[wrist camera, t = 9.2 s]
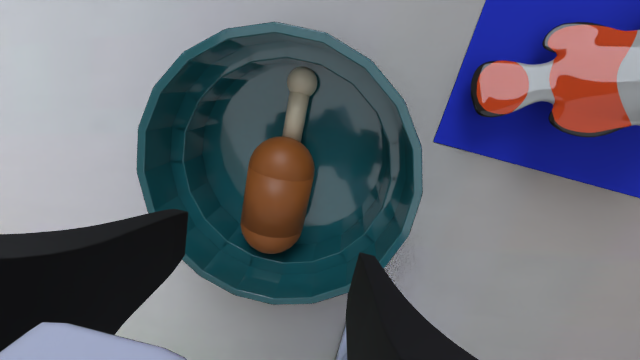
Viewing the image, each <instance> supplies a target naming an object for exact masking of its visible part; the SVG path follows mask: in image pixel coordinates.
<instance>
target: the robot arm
mask: <svg viewBox="0 0 640 360" xmlns="http://www.w3.org/2000/svg"><path fill="white" fill-rule="evenodd" d="M187 223H188V212H187V211H182V210H178V209H167V210H162V211H158V212H153V213H149V214H145V215H141V216H137V217H133V218H128V219H124V220H119V221H115V222H110V223H105V224H100V225H95V226H90V227H83V228H76V229H69V230H61V231H50V232H38V233H26V234H0V360H186V358H184V357H182V356H180V355H178V354H176V353H174V352H172V351H170V350H168V349H166V348H163V347H159V346H155V345H151V344H147V343H143V342H139V341H135V340H131V339H127V338H123V337H120V336H116V335H115V333H116V332H117V331H118V330H119V328H120V327H121V326H122V325H123V324H124V322H125V321H126V320H127V319H128V318H129V317H130V316H131V315H132V314H133V313H134V312H135V311H136V310H137V309H138V308H139V307H140V306H141V305H142V304H143V303H144V302H145V301H146V299H147V298H148V297H149V296H150V295H151V294H152V293H153V292H154V291H155V290H156V289H157V288H158V287H159V286H160V285H161V284H162V283H163V282H164V281H165V280H166V279H167V278H168V277H169V276H170V275H171V273H172V272H173V271H174V270H175V268H176V267H177V266H178V264H179V263H180V261H181V260H182V258H183V257H184V256H185V248H186V236H187ZM336 360H478V359H477V358H475V357H474V356H472V355H471V354H469V353H468V352H466V351H465V350H464V349H462V348H461V347H459V346H458V345H457V344H455V343H454V342H453V341H451V340H450V339H449V338H447V337H446V336H445V335H444V334H442V333H441V332H440V331H439V330H438V329H436V328H435V327H434V326H433V325H432V324H431V323H429V322H428V321H427V320H426V319H425V318H424V317H423V316H422V315H421V314H420V313H419V312H418V311H417V310H416V309H415V308H414V307H413V306H412V305H411V304H410V303H409V302H408V300H407V299H406V298H405V297H404V296H403V294H402V293H401V292H400V291H399V290H398V288H397V287H396V286H395V284H394V283H393V282H392V280H391V279H390V278H389V276H388V275H387V273H386V272H385V270H384V269H383V268H382V266H381V265H380V263H379V262H378V260H377V259H376V257H375V256H373V255H369V254H365V253H361V252H359V256H358V259H357V263H356V267H355V270H354V274H353V278H352V281H351V285H350V289H349V292H348V299H347V309H346V325H345V329H344V332H343V336H342V339H341V343H340V346H339V350H338V353H337V356H336Z"/></svg>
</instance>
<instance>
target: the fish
mask: <svg viewBox="0 0 640 360" xmlns="http://www.w3.org/2000/svg"><path fill="white" fill-rule="evenodd" d="M541 45H542V48H543V49H544V50H546V51H548V52H550V53H554V54H556V56H555V57H554V58H553V59H552V60H549V61H547V62H542V63H535V64H530V63H523V62H518V61H513V60H504V59H497V60H489V61H485V62H483V63H481V64H480V65H479V66H478V67H477V68H476V69H475V71H474V72H473V75H472V77H471V81H470V98H471V103H472V106H473V109H474V111H475V112H476V114H477V115H478V116H480V117H483V118H498V117H502V116H506V115H509V114H512V113H514V112H516V111H519V110H521V109H523V108H525V107H527V106H530V105H532V104H535V103H540V102H545V103H549V104H551V105H552V109H551V110H550V112H549V114H548V117H547V120H548V122H549V123H550V125H551V126H552V127H553V128H555V129H556V130H558V131H560V132H562V133H564V134H567V135H570V136H574V137H579V138H598V137H603V136H607V135H610V134H613V133H615V132H618V131H620V130H623V129H625V128H628V127H633V126H638V127H640V29H630V30H624V29H618V28H614V27H611V26H607V25H604V24H600V23H595V22H589V21H572V22H565V23H561V24H559V25H557V26H555V27H553V28H552V29H551V30H550V31H549V32H548V33H547V34H546V35H545V36H544V38H543V40H542V43H541Z"/></svg>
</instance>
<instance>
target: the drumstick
mask: <svg viewBox="0 0 640 360" xmlns="http://www.w3.org/2000/svg"><path fill="white" fill-rule="evenodd" d="M287 86H288V89H289V91H290V94H289V100H288V105H287V111H286V117H285V123H284V128H283V134H282V136H281V137H273V138H270V139H268V140H266V141H264V142H262V143H261V144H260V145H259V146H257V148H256V149H255V150H254V152H253V154H252V156H251V158H250V161H249V166H248V172H247V179H246V186H245V193H244V200H243V207H242V214H241V230H242V234H243V236H244V238H245V240H246V241H247V242H248V244H249V245H250V246H251V247H253V248H254V249H256V250H257V251H259V252H262V253H266V254H276V253H280V252H283V251H286V250H287V249H289V248H290V247H292V246H293V245H294V244H295V243H296V242H297V240H298V239H299V237H300V235H301V232H302V229H303V226H304V221H305V216H306V211H307V207H308V202H309V197H310V193H311V188H312V183H313V178H314V172H315V168H314V162H313V158H312V156H311V154H310V152H309V150H308V149H307V148H306V147H305V146H304V145H303V144H302V143H301V138H302V133H303V128H304V123H305V117H306V112H307V107H308V102H309V97H310V96H311V95H312V94H313V93H314V92H315V90H316V88H317V77H316V75H315V73H314V72H313V71H312V70H311V69H309V68H307V67H297V68H295V69H293V70H292V71H291V72H290V74H289V75H288V78H287Z"/></svg>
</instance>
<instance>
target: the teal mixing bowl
mask: <svg viewBox="0 0 640 360" xmlns="http://www.w3.org/2000/svg"><path fill="white" fill-rule="evenodd" d="M297 67H307V68H309V69H311V70H312V71H313V72H314V73H315V75H316V77H317V88H316V90H315V92H314V93H313V94H312V95H311V96H310V97H309V102H308V107H307V112H306V117H305V123H304V128H303V133H302V138H301V143H302V144H303V145H304V146H305V147H306V148H307V149H308V150H309V152H310V154H311V156H312V158H313V162H314V168H315V172H314V178H313V183H312V188H311V193H310V197H309V202H308V207H307V211H306V216H305V221H304V226H303V229H302V232H301V235H300V237H299V239H298V240H297V242H296V243H295V244H294V245H293V246H292V247H290V248H289V249H287V250H286V251H283V252H280V253H276V254H266V253H262V252H259V251H257V250H256V249H254V248H253V247H251V246H250V245H249V244H248V242H247V241H246V240H245V238H244V236H243V234H242V230H241V214H242V207H243V200H244V193H245V186H246V179H247V172H248V166H249V161H250V158H251V156H252V154H253V152H254V150H255V149H256V148H257V146H259V145H260V144H261V143H262V142H264V141H266V140H268V139H270V138H273V137H281V136H282V134H283V128H284V123H285V117H286V111H287V105H288V100H289V94H290V91H289V89H288V86H287V78H288V75H289V74H290V72H291V71H292V70H293V69H295V68H297ZM138 128H139V129H138V144H137V174H138V178H139V182H140V185H141V189H142V193H143V196H144V200H145V203H146V207H147V211H148V213H153V212H158V211H162V210H167V209H178V210H182V211H187V212H188V223H187V236H186V248H185V256H184V257H183V258H182V260H183V261H184V262H185V263H186V264H187V265H188V266H189V267H191V268H192V269H193V270H194V271H195V272H196V273H197V274H198V275H199V276H201V277H203V278H204V279H206V280H208V281H210V282H212V283H213V284H215V285H217V286H219V287H221V288H223V289H224V290H226V291H228V292H230V293H232V294H233V295H234V294H235V295H236V296H240V297H244V298H248V299H252V300H256V301H260V302H264V303H268V304H273V305H279V304H312V303H317V302H320V301H323V300H326V299H329V298H332V297H336V296H339V295H342V294H345V293H348V292H349V289H350V285H351V281H352V278H353V274H354V270H355V267H356V263H357V259H358V256H359V252H361V253H365V254H369V255H373V256H375V257H376V259H377V260H378V262H379V263H380V265H381V266H382V268H383V269H384V268H385V266H386V265H387V264H388V262H389V261H390V260H391V258H392V257H393V256H394V255H395V253H396V252H397V251H398V249H399V248H400V247H401V245H402V244H403V243H404V241H405V240H406V239H407V237H408V235H409V234H410V231H411V228H412V225H413V222H414V218H415V215H416V212H417V209H418V206H419V203H420V200H421V197H422V193H423V188H422V148H421V144H420V141H419V138H418V136H417V133H416V130H415V127H414V125H413V122H412V119H411V117H410V114H409V111H408V108H407V106H406V103H405V101H404V99H403V98H402V97H401V96H400V94H399V93H398V92H397V91H396V89H395V88H394V87H393V86H392V85H391V83H390V82H389V81H388V80H387V78H386V77H385V76H384V75H383V74H382V72H381V71H380V70H379V69H378V67H377V66H376V65H375V64H374V63H373V61H371V60H370V59H369V58H367V57H365V56H364V55H362V54H360V53H359V52H357V51H356V50H354V49H352V48H351V47H349V46H347V45H346V44H344V43H343V42H341V41H339V40H338V39H336V38H334V37H333V36H331V35H330V34H328V33H325V32H321V31H317V30H312V29H307V28H303V27H298V26H293V25H288V24H284V23H279V22H270V23H263V24H256V25H249V26H242V27H235V28H228V29H224V30H222V31H221V32H219V33H217V34H215V35H213V36H211V37H210V38H208V39H206V40H204V41H202V42H201V43H199V44H197V45H195V46H193V47H191V48H190V49H188V50H186V51H184V53H182V54H181V55H180V56H179V58H178V59H177V60H176V61H175V62H174V63H173V65H172V66H171V67H170V68H169V69H168V71H167V72H166V73H165V74H164V75H163V76H162V78H161V79H160V80H159V81H158V82H157V83H156V85H155V86H154V87H153V89H152V92H151V95H150V97H149V100H148V103H147V105H146V108H145V111H144V113H143V116H142V119H141V122H140V124H139V127H138Z"/></svg>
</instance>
